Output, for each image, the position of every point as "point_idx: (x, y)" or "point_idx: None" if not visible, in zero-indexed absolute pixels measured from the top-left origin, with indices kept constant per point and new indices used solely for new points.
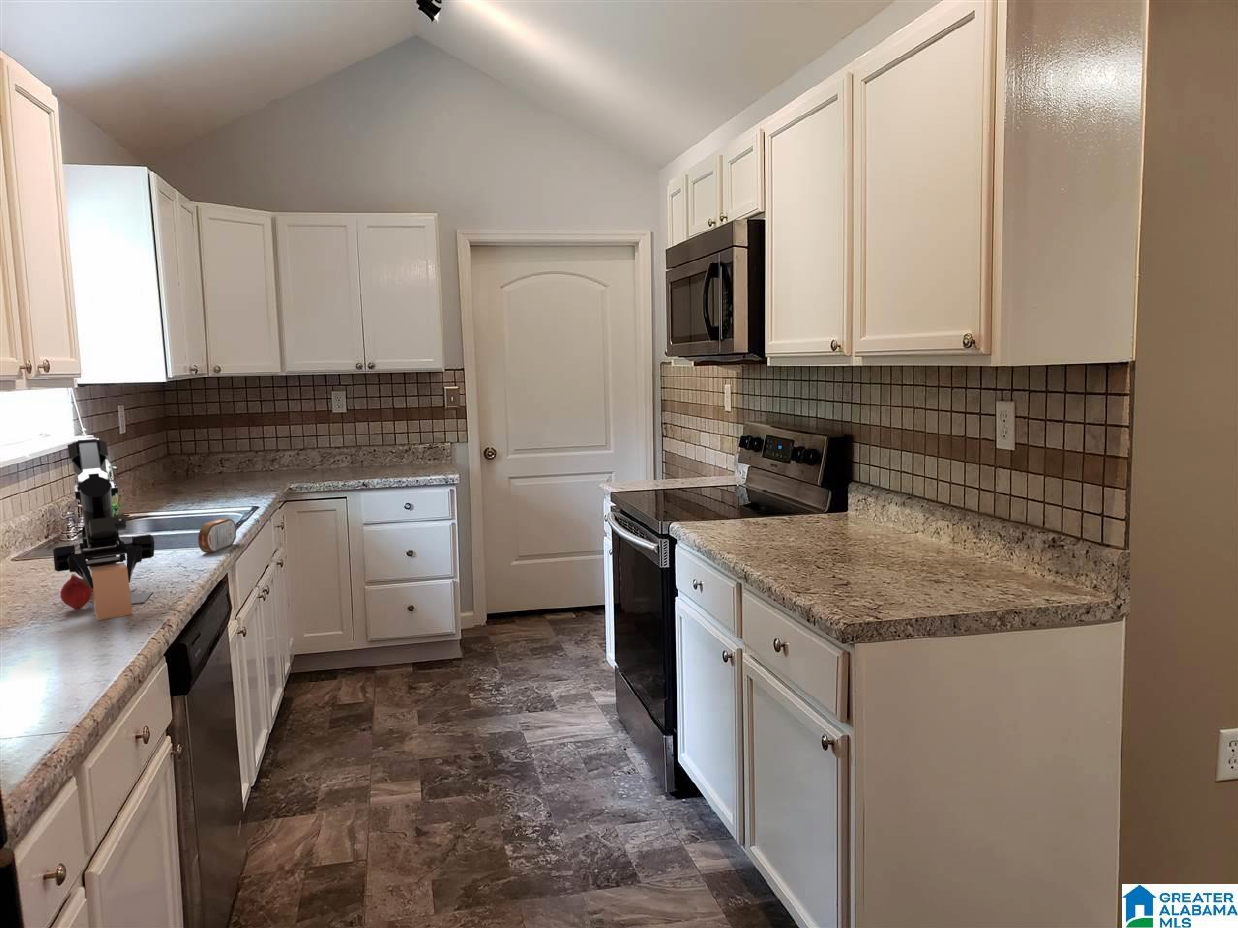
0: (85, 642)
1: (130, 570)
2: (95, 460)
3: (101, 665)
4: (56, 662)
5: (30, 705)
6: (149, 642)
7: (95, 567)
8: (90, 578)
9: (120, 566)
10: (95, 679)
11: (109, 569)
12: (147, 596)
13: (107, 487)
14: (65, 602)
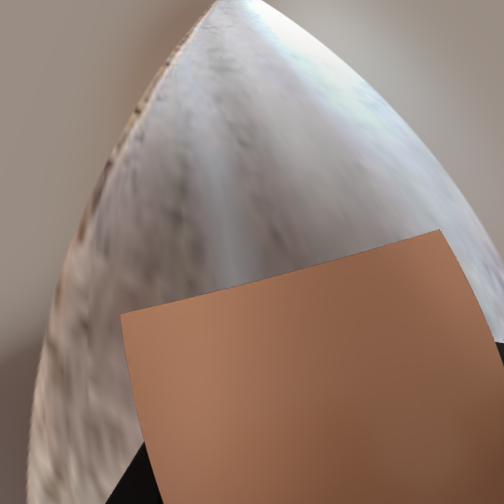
0: (283, 128)
1: (134, 470)
2: None
3: (218, 48)
4: (295, 68)
5: (267, 14)
6: (147, 96)
7: (495, 486)
8: None
9: (216, 453)
10: (218, 29)
11: (324, 323)
12: None
13: None
14: None
